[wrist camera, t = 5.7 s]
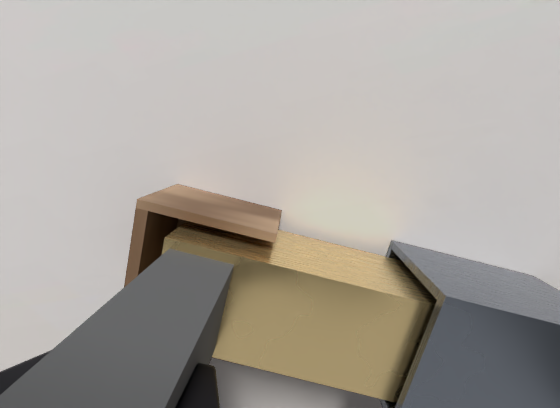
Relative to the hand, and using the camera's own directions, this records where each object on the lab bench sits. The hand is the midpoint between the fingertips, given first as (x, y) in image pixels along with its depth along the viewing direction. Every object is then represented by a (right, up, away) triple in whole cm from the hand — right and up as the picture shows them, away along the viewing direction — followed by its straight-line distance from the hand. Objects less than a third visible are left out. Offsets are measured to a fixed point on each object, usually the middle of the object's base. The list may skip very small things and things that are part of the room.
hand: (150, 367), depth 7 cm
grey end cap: (+10, -1, +7) cm, 12 cm away
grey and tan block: (+4, +1, +6) cm, 7 cm away
